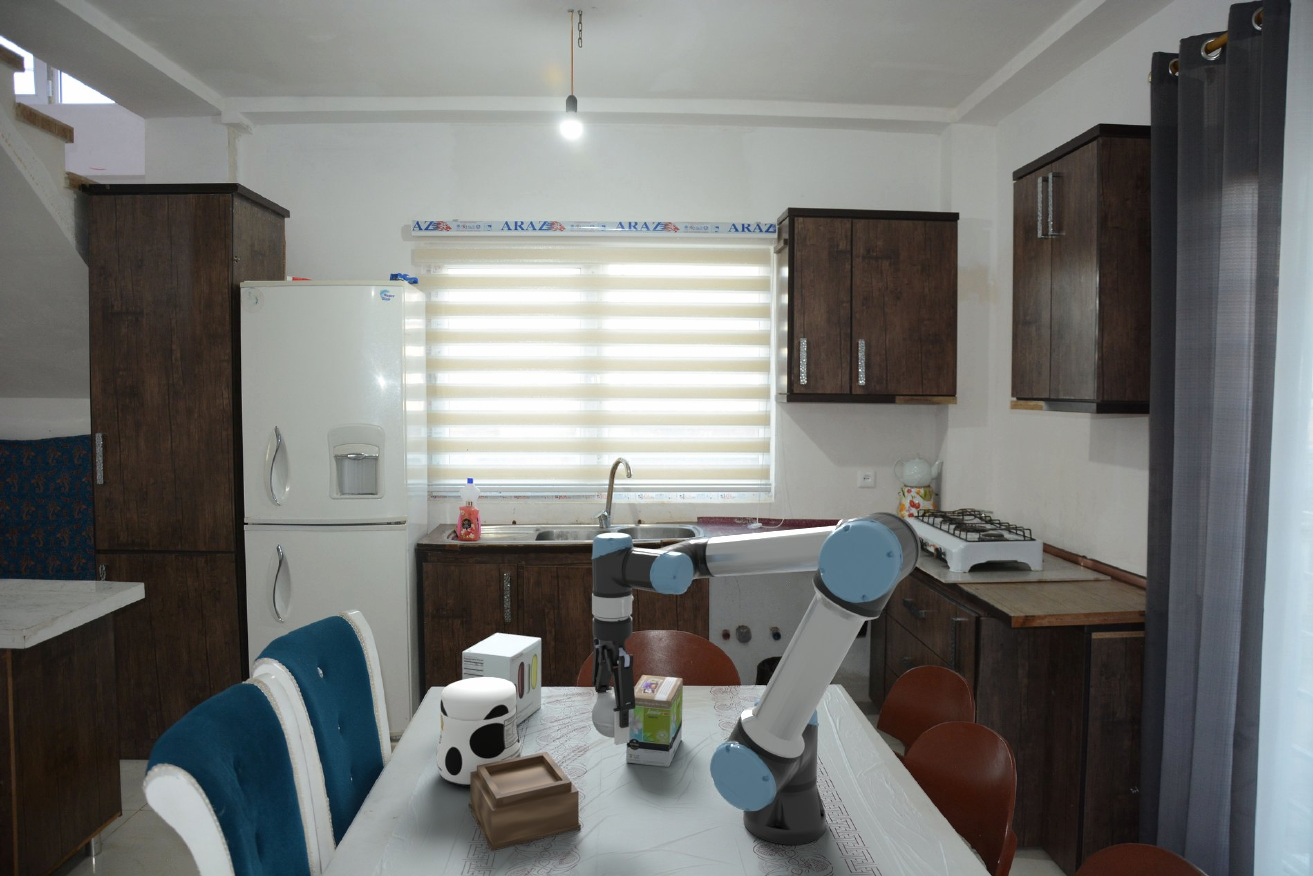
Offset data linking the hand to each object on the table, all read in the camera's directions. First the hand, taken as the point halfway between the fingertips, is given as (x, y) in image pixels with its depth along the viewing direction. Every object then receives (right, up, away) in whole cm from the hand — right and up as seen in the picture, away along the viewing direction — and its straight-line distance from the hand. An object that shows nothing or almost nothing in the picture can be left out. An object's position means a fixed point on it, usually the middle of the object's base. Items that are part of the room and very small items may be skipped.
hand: (612, 734), depth 154 cm
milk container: (-29, -14, +16) cm, 36 cm away
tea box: (+8, -14, +27) cm, 32 cm away
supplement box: (-29, -13, +46) cm, 56 cm away
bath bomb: (0, -1, 0) cm, 1 cm away
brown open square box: (-17, -15, -2) cm, 23 cm away
